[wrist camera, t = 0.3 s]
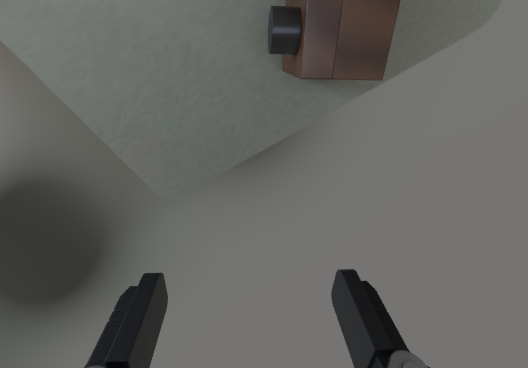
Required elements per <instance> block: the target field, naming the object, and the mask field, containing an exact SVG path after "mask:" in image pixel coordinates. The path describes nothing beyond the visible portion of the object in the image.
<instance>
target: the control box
mask: <svg viewBox="0 0 528 368" xmlns="http://www.w3.org/2000/svg"><path fill="white" fill-rule="evenodd" d="M399 4H400V0H286V6H271V8H270V13H269V25H268V50H269V53H270V54H283V71H285V72H287V73H289V74H292V75H294V76H296V77H299V78H301V79H342V80H383V75H384V71H385V66H386V62H387V57H388V53H389V48H390V44H391V40H392V35H393V31H394V26H395V22H396V17H397V13H398V8H399Z"/></svg>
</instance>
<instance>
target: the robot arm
mask: <svg viewBox="0 0 528 368" xmlns="http://www.w3.org/2000/svg"><path fill="white" fill-rule="evenodd" d="M331 294H332V295H331V296H332V303H333V307H334V309H335V312H336V315H337V318H338V321H339V324H340V327H341V330H342V333H343V335H344V338H345V341H346V344H347V347H348V350H349V353H350V356H351V359H352V362H353V365H354V367H355V368H430V367H427V366H426V365H425V363H424V362H423V361H422V360H421V359H420V358H418V357H417V356H416V355H414V354H412V353H411V352H410V351H409V350H408V348H407V347H406V345H405V343H404V341H403V339H402V337H401V335H400V334H399V332H398V330H397V328H396V326H395V324H394V323H393V321H392V319H391V317H390V315H389V313H388V312H387V310H386V308H385V306H384V304H383V303H382V300H381V299H380V297H379V295H378V293H377V291H376V290H375V289H374V288H373V287H372V286H371V285H370V284H369V283H368V282H367V281H361V280H360V278H359V276H358V274H357V272H356V271H355V270H353V269H345V270H337V272H336V276H335V280H334V284H333V288H332V293H331ZM167 303H168V295H167V290H166V285H165V280H164V275H163V273H145V274H144V275H143V276H142V278H141V280H140V282H139V285H138V286H130V287H129V288H128V289H127V290H126V291H125V292H124V293H123V294H122V295H121V296H120V298H119V300H118V302H117V304H116V306H115V308H114V312H112V314H111V316H110V318H109V322H107V324H106V327H105V329H104V330H103V333H102V334H101V336H100V338H99V341H98V342H97V345H96V347H95V349H94V351H93V353H92V355H91V357H90V359H89V361H88V362H87V364H86V366H85V367H84V368H149V367H150V363H151V360H152V357H153V353H154V350H155V346H156V343H157V340H158V336H159V333H160V329H161V326H162V323H163V319H164V316H165V313H166V308H167Z"/></svg>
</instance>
